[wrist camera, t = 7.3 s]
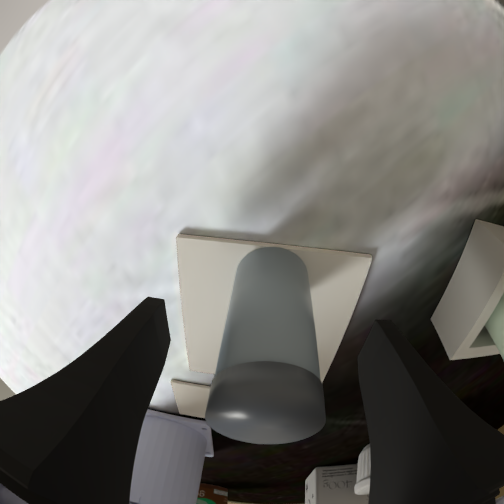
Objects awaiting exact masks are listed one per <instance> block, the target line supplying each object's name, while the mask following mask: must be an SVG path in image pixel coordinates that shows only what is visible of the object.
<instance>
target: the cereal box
mask: <svg viewBox="0 0 504 504" xmlns="http://www.w3.org/2000/svg"><path fill="white" fill-rule="evenodd" d="M357 468H358V463H357V464H348V465H338V466H325V467H316V468H315V469H314V470H313V471H312V473H311V474H310V475H309V476H308V478H307V479H306V481H305V504H368V501H369V495H357V494H355V491H354V486H355V484H356V481H357Z"/></svg>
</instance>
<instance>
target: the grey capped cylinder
mask: <svg viewBox="0 0 504 504" xmlns="http://www.w3.org/2000/svg"><path fill="white" fill-rule="evenodd" d="M205 420H206V422H207V424H208V425H209V426H210V427H211V428H212V429H214V430H215V431H216V432H218V433H220V434H222V435H224V436H226V437H229V438H232V439H235V440H239V441H243V442H249V443H256V444H282V443H289V442H294V441H298V440H302V439H305V438H307V437H310V436H312V435H314V434H316V433H317V432H319V431H320V430H321V429H322V428H323V426H324V425H325V422H326V416H325V403H324V392H323V385H322V383H321V379H320V368H319V359H318V349H317V340H316V331H315V323H314V315H313V307H312V299H311V292H310V285H309V278H308V271H307V268H306V265H305V264H304V262H303V261H302V259H301V258H300V257H299V256H298V255H296V254H295V253H293V252H291V251H290V250H287V249H284V248H281V247H263V248H259V249H256V250H254V251H252V252H250V253H248V254H247V255H246V256H245V257H244V258H243V259H242V260H241V261H240V263H239V265H238V267H237V270H236V275H235V279H234V284H233V289H232V294H231V298H230V303H229V308H228V313H227V318H226V322H225V327H224V332H223V337H222V342H221V347H220V352H219V357H218V362H217V367H216V371H215V376H214V378H213V380H212V383H211V387H210V392H209V397H208V402H207V407H206V412H205Z"/></svg>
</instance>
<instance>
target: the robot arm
mask: <svg viewBox="0 0 504 504" xmlns="http://www.w3.org/2000/svg"><path fill="white" fill-rule="evenodd" d="M170 341H171V339H170V333H169V327H168V321H167V315H166V308H165V301H164V299H159V298H152V297H147V298H146V299H145V300H143V301H142V302H141V303H140V304H139V305H138V306H137V307H136V308H135V309H134V310H132V311H131V312H130V313H129V314H128V315H127V316H126V317H125V318H124V319H123V320H122V321H121V322H120V323H118V324H117V325H116V326H115V327H114V328H113V329H112V330H111V331H109V332H108V333H107V334H106V335H105V336H104V337H103V338H102V339H100V340H99V341H98V342H97V343H96V344H94V345H93V346H92V347H91V348H89V349H88V350H87V351H86V352H85V353H83V354H82V355H81V356H80V357H78V358H77V359H76V360H74V361H73V362H71V363H70V364H69V365H67V366H66V367H64V368H63V369H61V370H60V371H58V372H57V373H55V374H54V375H52V376H50V377H48V378H47V379H45V380H43V381H42V382H40V383H38V384H36V385H35V386H33V387H31V388H29V389H27V390H25V391H23V392H21V393H19V394H16V395H14V396H12V397H10V398H7V399H5V400H2V401H0V504H196V503H197V497H198V491H199V486H200V480H201V474H202V468H203V463H204V457H205V456H208V457H213V456H214V450H213V441H212V432H211V427H210V426H209V425H208V424H207V422H206V421H203V420H197V419H191V418H186V417H181V416H176V415H171V414H166V413H162V412H158V411H153V410H149V409H148V407H149V404H150V401H151V399H152V396H153V394H154V391H155V388H156V386H157V383H158V381H159V378H160V375H161V373H162V370H163V367H164V365H165V361H166V357H167V353H168V349H169V345H170ZM357 360H358V374H359V384H360V389H361V394H362V399H363V405H364V410H365V415H366V420H367V426H368V432H369V439H370V461H371V468H370V490H369V501H368V504H504V496H502V497H500V498H498V499H496V500H495V497H496V496H497V495H499V493H500V491H499V488H501V487H503V486H504V435H503V434H502V433H500V432H499V431H498V430H496V429H495V428H493V427H492V426H490V425H489V424H488V423H486V422H485V421H484V420H482V419H481V418H480V417H479V416H478V415H476V414H475V413H474V412H473V411H472V410H471V409H469V408H468V407H467V406H466V405H465V404H464V403H463V402H462V401H461V400H460V399H459V398H458V397H457V396H456V395H455V394H454V393H453V392H452V391H451V390H450V389H449V388H448V387H447V386H446V385H445V384H444V383H443V382H442V380H441V379H440V378H439V377H438V376H437V375H436V374H435V373H434V371H433V370H432V369H431V368H430V367H429V366H428V364H427V363H426V362H425V361H424V360H423V358H422V357H421V356H420V355H419V353H418V352H417V351H416V350H415V349H414V347H413V346H412V345H411V344H410V342H409V341H408V340H407V339H406V337H405V336H404V335H403V334H402V333H401V331H400V330H399V329H398V328H397V327H396V326H395V324H394V323H393V322H392V321H391V320H375V322H374V324H373V327H372V329H371V331H370V333H369V335H368V337H367V339H366V341H365V343H364V345H363V347H362V349H361V351H360V353H359V355H358V357H357Z"/></svg>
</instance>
